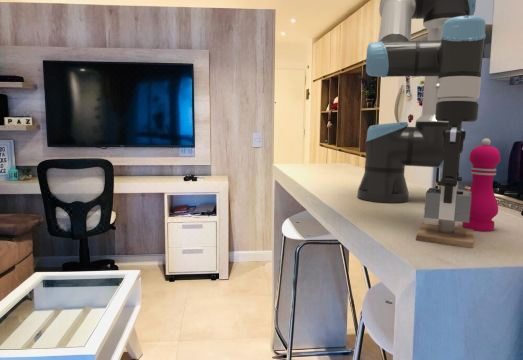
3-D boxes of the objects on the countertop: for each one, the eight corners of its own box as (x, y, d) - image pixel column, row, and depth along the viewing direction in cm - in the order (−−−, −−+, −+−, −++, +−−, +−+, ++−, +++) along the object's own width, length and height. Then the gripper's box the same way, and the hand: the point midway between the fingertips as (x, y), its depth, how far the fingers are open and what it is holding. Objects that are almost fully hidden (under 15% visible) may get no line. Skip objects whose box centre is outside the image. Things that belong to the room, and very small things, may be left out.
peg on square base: (422, 227, 93) (425, 187, 92) (472, 233, 89) (476, 191, 88) (415, 240, 82) (419, 194, 81) (472, 248, 78) (477, 200, 77)
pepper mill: (501, 233, 90) (510, 139, 88) (464, 230, 92) (473, 138, 89) (490, 225, 97) (498, 138, 95) (456, 223, 99) (464, 137, 96)
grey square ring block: (427, 211, 90) (429, 187, 90) (469, 215, 87) (471, 191, 86) (423, 217, 83) (425, 192, 83) (469, 222, 80) (471, 196, 79)
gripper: (440, 104, 93) (431, 205, 96) (432, 96, 74) (422, 222, 77) (478, 104, 90) (468, 209, 93) (479, 96, 71) (467, 228, 74)
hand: (447, 215), depth 85 cm, fingers closed on grey square ring block, 8 cm apart
